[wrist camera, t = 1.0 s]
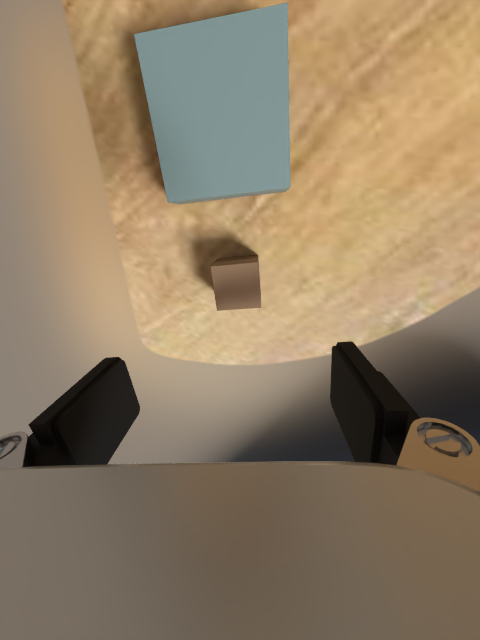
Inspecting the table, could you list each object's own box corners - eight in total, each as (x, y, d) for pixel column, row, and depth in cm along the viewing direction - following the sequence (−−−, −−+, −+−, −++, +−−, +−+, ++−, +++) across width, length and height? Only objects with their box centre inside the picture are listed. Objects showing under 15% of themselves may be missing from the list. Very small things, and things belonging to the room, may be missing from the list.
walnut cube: (217, 258, 29) (210, 266, 25) (258, 254, 29) (257, 262, 24) (223, 296, 31) (217, 310, 27) (260, 293, 31) (261, 307, 26)
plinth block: (154, 63, 22) (133, 34, 19) (282, 39, 21) (287, 2, 17) (180, 204, 27) (167, 202, 23) (285, 191, 26) (290, 187, 22)
